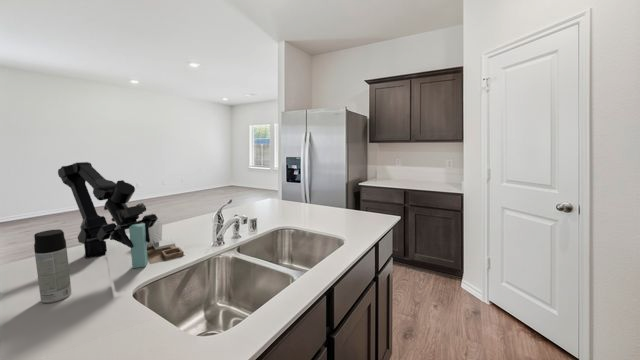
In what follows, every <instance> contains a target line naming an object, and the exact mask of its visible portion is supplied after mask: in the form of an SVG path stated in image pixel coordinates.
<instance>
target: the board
mask: <svg viewBox="0 0 640 360" xmlns="http://www.w3.org/2000/svg"><path fill="white" fill-rule="evenodd" d="M184 256H186V255H185V252H184V251H183V249H182V248H180V247H179V246H178V247H177V246H176V245H175V246H171V247H167V248H162V249H157V250H155V248H154V247H153V245H152V244H151V245H147V257H148V263H149V265H152V264H157V263H160V262H164V261H168V260H169V261H170V260H174V259H177V258H178V259H179V258H182V257H184Z"/></svg>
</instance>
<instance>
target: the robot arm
mask: <svg viewBox="0 0 640 360" xmlns="http://www.w3.org/2000/svg"><path fill="white" fill-rule="evenodd" d="M57 175H58V177H59V178H60V179H61V181H62V183H63V184H64V185H66V186H67V187H69V188H70V189H71V192H72V194H73V197H74V200H75V203H76V205H77V208H78V210H79V212H80V216H81V218H82V222H81V225H80V231H79V233H78V235H77V238H76V239H77V240H78V243H80V244H83V246H84V258H85V259H90V258H94V257H100V256H104V255H106V254H107V241H106V240H110V241H116V242H118V243H121V244H123V245H124V246H126V247H128V248H130V249H131V248H133V244H132V242H131V241H130V237H129V236H128V235H127V232H126V230H129V227H130V226H131V225H132V224H144V223H145V232H146V241H147V242H148V243H149V242H150V237H149V228H150V227H152V226H153V225H154V224H155V222H156V221H157V220H159V218H158V216H157V214H156V213H151V214H146V215H144V216H143V217H142V219H141V220H138V219H139V218H140V215H143V213H144V212H146V211H147V206H146V205H145V204H144V202H141V203H138V204H136V205H134V206H128V205H127V203H129V201H130V199H131V198H132V196H133V194H134V193H135V192H136V188H135V186H134V185H132V183H129V182H125V180H123V179H121V180H117V181H116V182H114V181H113V180H109V179H106V178H105V177H104V176H103V175H102V174H101V173H99V172H98V171H97V170H96V169H95V168H94V166H92V163H91V162H89V161H82V162H75V163H72V164H69V165H63V166H61V167H60V168H59V169H58V170H57ZM86 183H88V185H89V186H90V187H92V189H93V190H92V194H93V196H94V198H96V199H97V201H105V203H104V206H103V209H104V211H108V212H109V214H110V215H111V217H112V218H111V221H112V223H108V222H107V219H106V217H105V216H104V215H102V216H100V215H99V214H98V212H97V209H96V208H95V205H94V202H93V200H92V198H91V194H90V191H89V190H88V187H87V185H86Z"/></svg>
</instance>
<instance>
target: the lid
mask: <svg viewBox="0 0 640 360" xmlns="http://www.w3.org/2000/svg"><path fill="white" fill-rule="evenodd" d="M152 245H153V247H154V248H155V250H157V249H162V248H167V247H171V246H176V243H175V242H174V240H172V239H171V238H170V239H162V241H158V240H157V239H156V238H155V239H153V243H152V244H151V246H152Z"/></svg>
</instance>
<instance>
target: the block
mask: <svg viewBox="0 0 640 360" xmlns="http://www.w3.org/2000/svg"><path fill="white" fill-rule="evenodd" d="M128 234H129V239H130V241H131V242H132V244H133V248H130V255H131V267H132V269H139V268H145V267H146V266H147V264H148V263H149V261H148V257H147V246H148V245H147V244H146V232H145V223H144V224H132V225H131V226H130V227H129V229H128Z"/></svg>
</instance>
